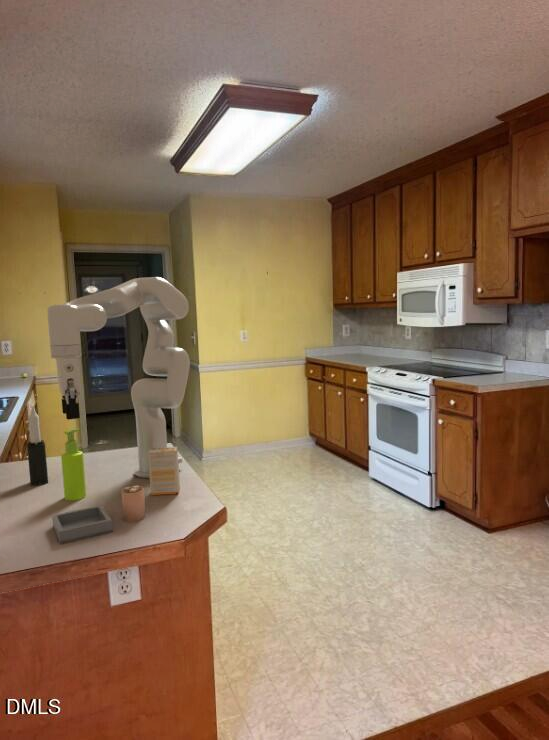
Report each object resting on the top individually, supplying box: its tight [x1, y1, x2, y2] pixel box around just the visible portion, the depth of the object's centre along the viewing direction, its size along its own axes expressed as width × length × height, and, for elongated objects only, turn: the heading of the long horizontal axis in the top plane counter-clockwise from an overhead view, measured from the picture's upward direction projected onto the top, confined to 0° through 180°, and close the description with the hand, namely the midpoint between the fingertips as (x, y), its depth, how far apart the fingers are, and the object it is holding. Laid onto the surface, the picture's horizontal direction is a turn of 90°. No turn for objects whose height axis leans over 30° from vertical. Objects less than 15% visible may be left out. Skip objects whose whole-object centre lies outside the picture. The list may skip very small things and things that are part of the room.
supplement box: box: [148, 446, 181, 496], centre depth 153 cm, size 8×5×13 cm, turn 94°
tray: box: [51, 504, 113, 545], centre depth 129 cm, size 12×12×3 cm
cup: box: [120, 485, 147, 523], centre depth 135 cm, size 6×6×8 cm
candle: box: [26, 405, 49, 486], centre depth 166 cm, size 5×5×25 cm
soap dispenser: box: [60, 428, 87, 502], centre depth 152 cm, size 6×7×20 cm
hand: (71, 415), depth 138 cm, fingers open, 9 cm apart
